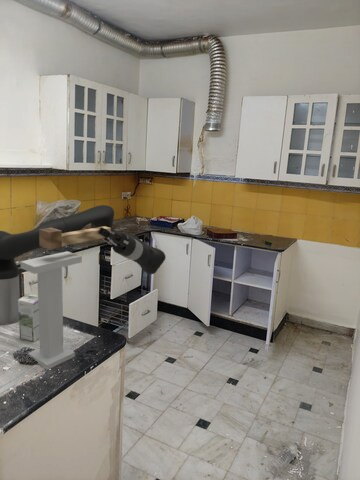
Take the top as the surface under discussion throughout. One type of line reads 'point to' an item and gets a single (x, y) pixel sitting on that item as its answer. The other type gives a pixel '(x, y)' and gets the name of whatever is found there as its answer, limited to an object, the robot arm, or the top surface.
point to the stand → (50, 307)
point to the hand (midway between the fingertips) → (96, 229)
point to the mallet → (67, 237)
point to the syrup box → (28, 317)
